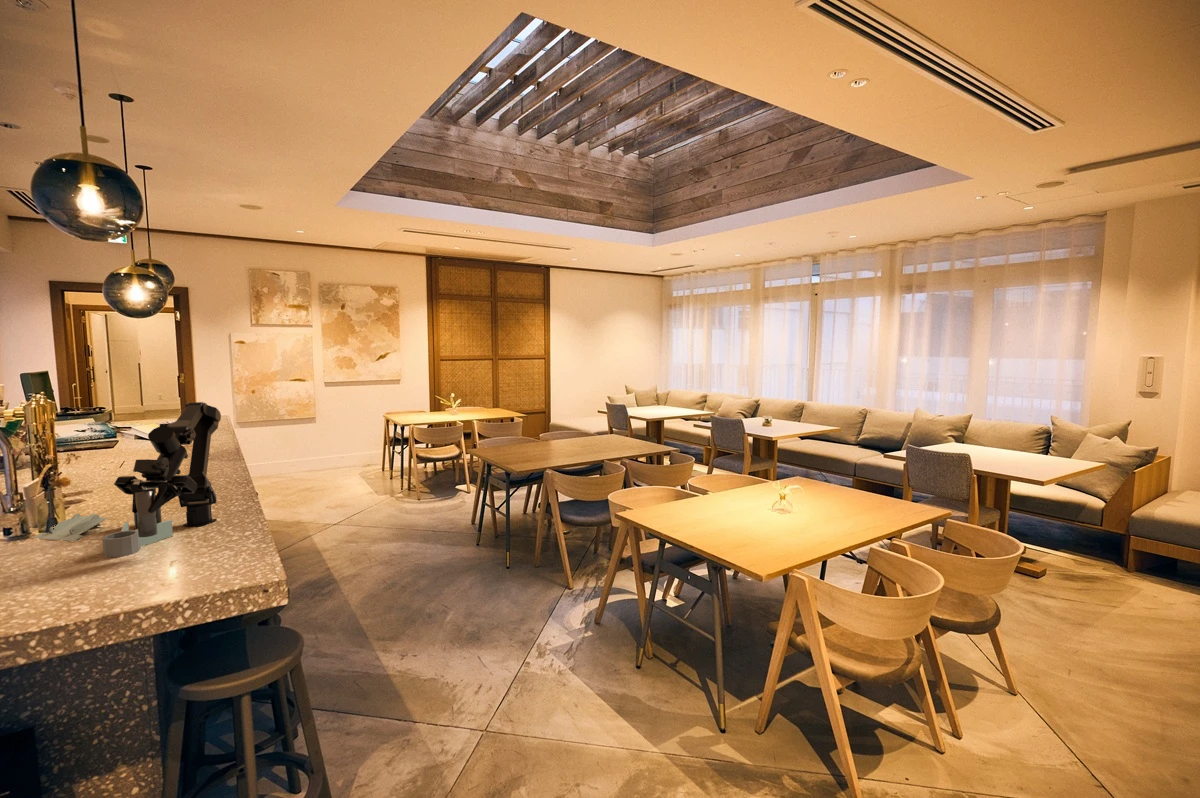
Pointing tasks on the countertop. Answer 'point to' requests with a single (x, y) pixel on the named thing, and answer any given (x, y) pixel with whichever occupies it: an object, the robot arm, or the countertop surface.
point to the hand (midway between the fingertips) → (142, 512)
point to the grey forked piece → (132, 539)
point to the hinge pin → (145, 513)
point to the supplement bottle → (158, 512)
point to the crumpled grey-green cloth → (72, 528)
